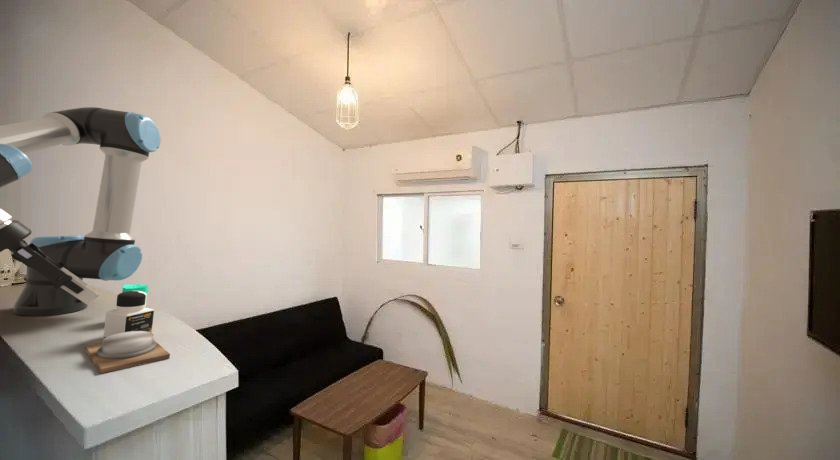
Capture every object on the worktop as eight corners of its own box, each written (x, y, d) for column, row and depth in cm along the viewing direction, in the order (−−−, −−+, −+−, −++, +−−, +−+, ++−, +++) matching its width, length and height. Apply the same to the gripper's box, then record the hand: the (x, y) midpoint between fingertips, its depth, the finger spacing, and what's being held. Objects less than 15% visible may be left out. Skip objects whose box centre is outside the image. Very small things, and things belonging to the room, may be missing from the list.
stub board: (84, 349, 76) (86, 333, 76) (148, 338, 86) (149, 324, 86) (100, 373, 67) (102, 355, 67) (169, 358, 77) (171, 341, 77)
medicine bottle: (123, 342, 82) (128, 296, 82) (102, 337, 84) (107, 292, 84) (152, 334, 89) (156, 291, 89) (132, 329, 91) (136, 288, 91)
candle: (148, 320, 99) (152, 282, 99) (122, 324, 94) (126, 283, 94) (141, 315, 102) (144, 278, 102) (116, 319, 97) (120, 280, 97)
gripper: (-30, 235, 71) (62, 294, 84) (-32, 250, 57) (80, 319, 69) (10, 214, 76) (92, 273, 88) (19, 223, 61) (115, 292, 74)
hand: (87, 293), depth 79 cm, fingers open, 13 cm apart
